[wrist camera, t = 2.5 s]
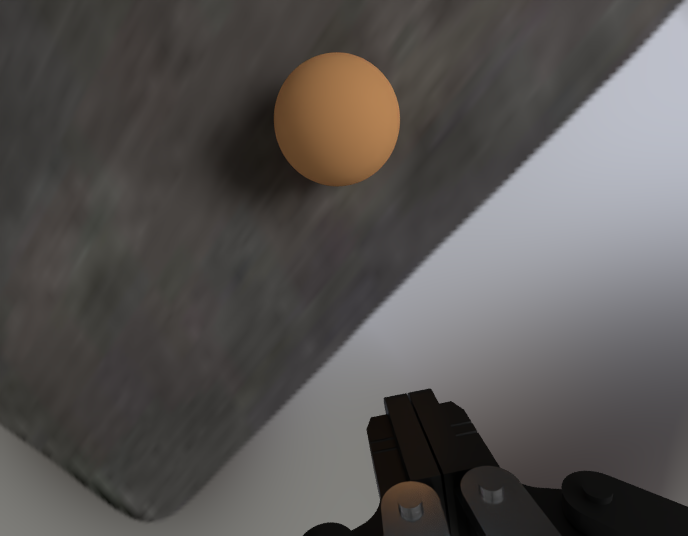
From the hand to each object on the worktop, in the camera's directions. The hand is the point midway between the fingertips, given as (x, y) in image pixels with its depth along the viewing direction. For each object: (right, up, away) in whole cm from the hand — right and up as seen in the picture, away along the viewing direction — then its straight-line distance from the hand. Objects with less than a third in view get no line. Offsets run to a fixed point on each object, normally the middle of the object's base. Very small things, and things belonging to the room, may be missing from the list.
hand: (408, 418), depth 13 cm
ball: (-2, +11, +6) cm, 13 cm away
